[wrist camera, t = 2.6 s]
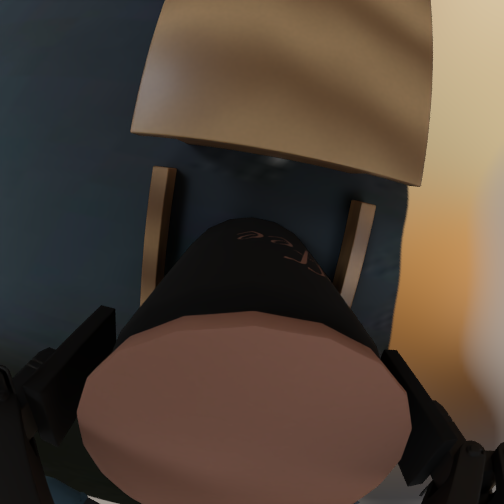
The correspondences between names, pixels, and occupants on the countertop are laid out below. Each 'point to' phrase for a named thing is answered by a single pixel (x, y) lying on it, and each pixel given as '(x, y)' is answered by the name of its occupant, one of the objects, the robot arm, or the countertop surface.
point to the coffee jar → (244, 383)
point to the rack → (290, 97)
